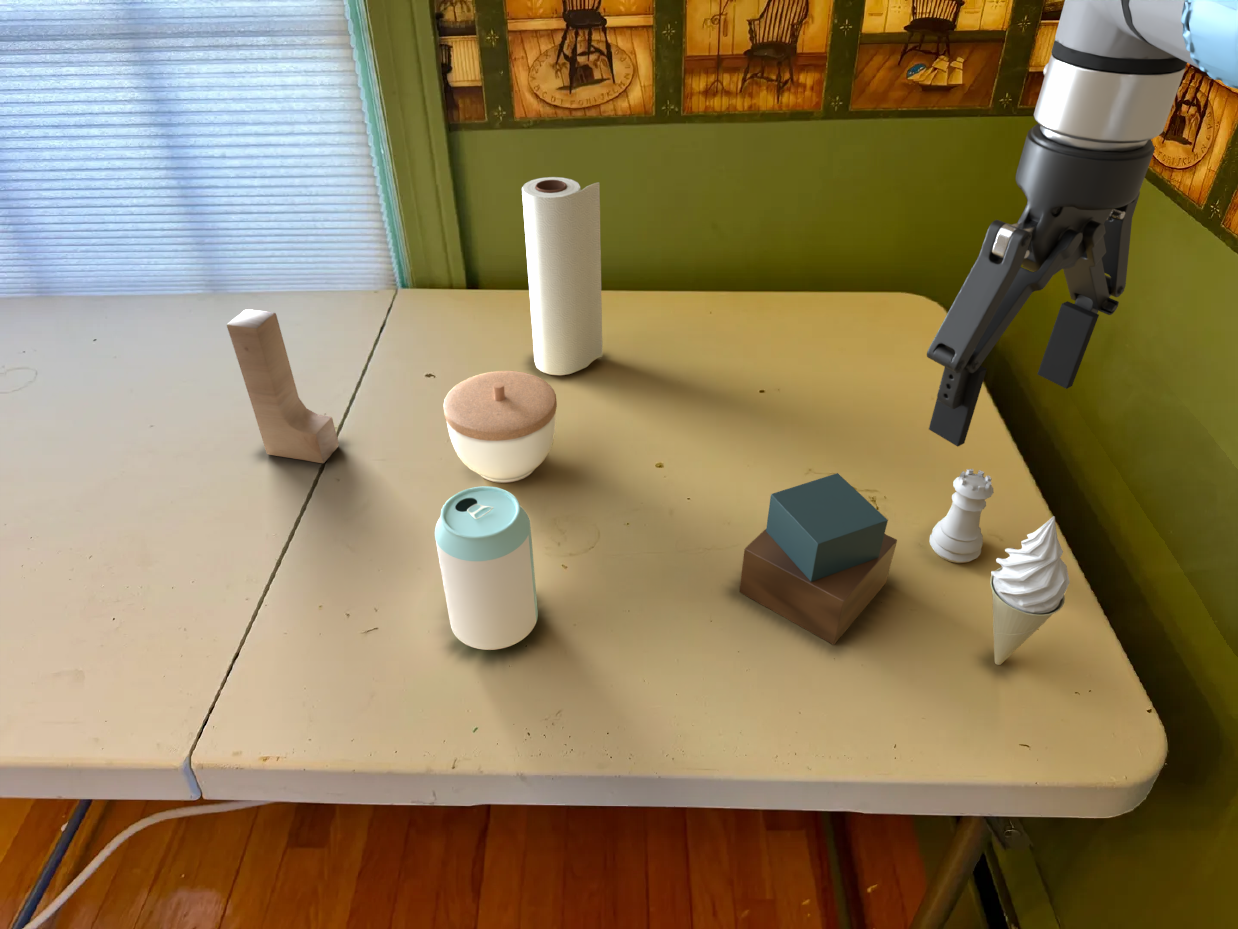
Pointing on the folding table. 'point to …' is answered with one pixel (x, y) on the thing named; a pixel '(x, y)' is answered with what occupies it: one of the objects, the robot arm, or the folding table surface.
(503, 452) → the trinket box
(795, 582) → the base block
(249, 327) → the wooden block
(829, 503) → the top block
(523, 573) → the can
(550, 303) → the paper towel roll
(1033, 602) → the ice cream cone
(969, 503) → the rook chess piece
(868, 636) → the folding table surface
